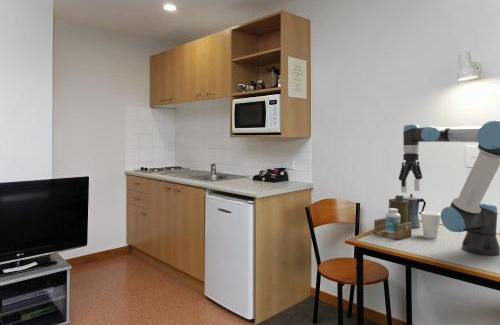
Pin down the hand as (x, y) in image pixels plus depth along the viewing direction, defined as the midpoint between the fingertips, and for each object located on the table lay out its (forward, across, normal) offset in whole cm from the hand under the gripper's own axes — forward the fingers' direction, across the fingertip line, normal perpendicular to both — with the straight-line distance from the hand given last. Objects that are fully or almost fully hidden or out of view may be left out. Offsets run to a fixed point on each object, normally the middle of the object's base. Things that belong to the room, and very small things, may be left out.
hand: (410, 191), depth 186 cm
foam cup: (+25, -8, +7) cm, 27 cm away
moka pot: (+24, -22, -10) cm, 34 cm away
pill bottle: (+23, +7, -7) cm, 25 cm away
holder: (+25, +7, -7) cm, 26 cm away
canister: (+24, -10, -13) cm, 29 cm away
